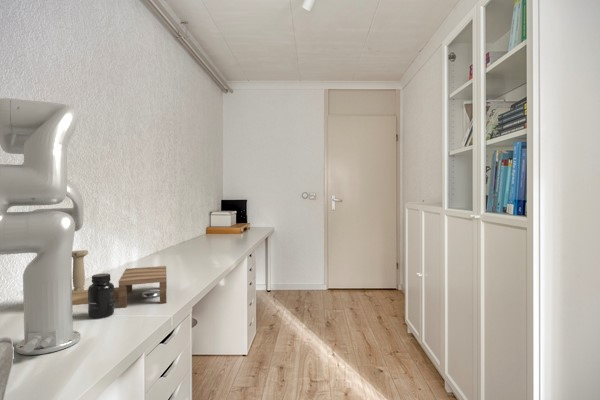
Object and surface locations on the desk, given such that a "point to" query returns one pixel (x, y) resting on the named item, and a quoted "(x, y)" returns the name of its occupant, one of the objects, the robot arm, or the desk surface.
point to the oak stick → (82, 296)
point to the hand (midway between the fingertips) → (53, 303)
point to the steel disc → (150, 294)
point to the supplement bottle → (100, 297)
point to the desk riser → (142, 281)
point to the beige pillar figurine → (78, 269)
